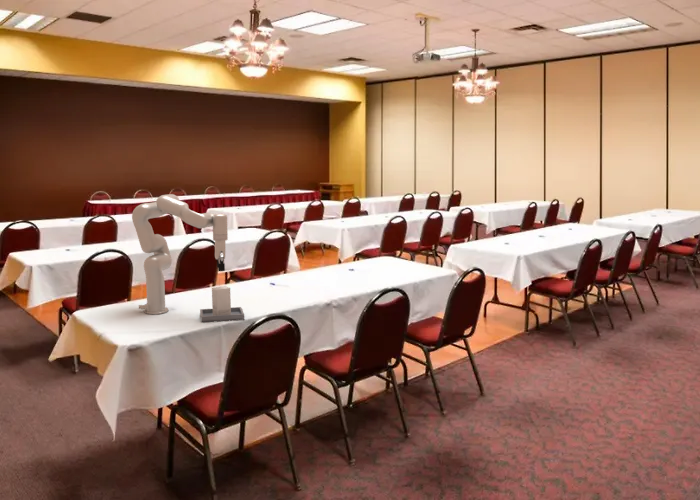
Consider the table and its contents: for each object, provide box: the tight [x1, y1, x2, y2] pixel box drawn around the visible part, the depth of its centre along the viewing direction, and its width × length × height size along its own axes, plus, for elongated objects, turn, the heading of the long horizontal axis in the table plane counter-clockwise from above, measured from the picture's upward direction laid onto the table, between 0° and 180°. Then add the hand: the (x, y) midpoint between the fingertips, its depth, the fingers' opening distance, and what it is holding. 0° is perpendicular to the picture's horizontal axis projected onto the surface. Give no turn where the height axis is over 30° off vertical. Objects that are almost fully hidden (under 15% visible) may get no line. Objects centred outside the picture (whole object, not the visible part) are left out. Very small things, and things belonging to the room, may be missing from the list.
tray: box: [199, 306, 245, 323], centre depth 330 cm, size 22×16×3 cm
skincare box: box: [211, 285, 232, 316], centre depth 329 cm, size 8×7×16 cm
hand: (220, 269), depth 326 cm, fingers open, 9 cm apart
